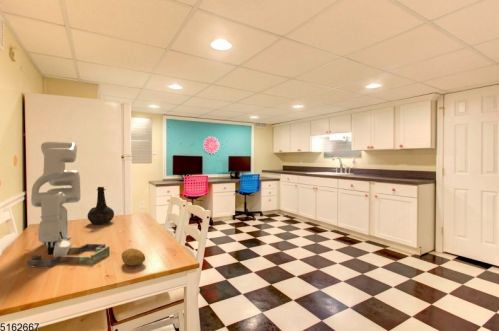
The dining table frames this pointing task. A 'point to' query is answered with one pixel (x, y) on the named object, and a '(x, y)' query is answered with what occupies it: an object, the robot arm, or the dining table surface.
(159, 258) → the dining table surface
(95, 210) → the glass bottle
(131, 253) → the potato
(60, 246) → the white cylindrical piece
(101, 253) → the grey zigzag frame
